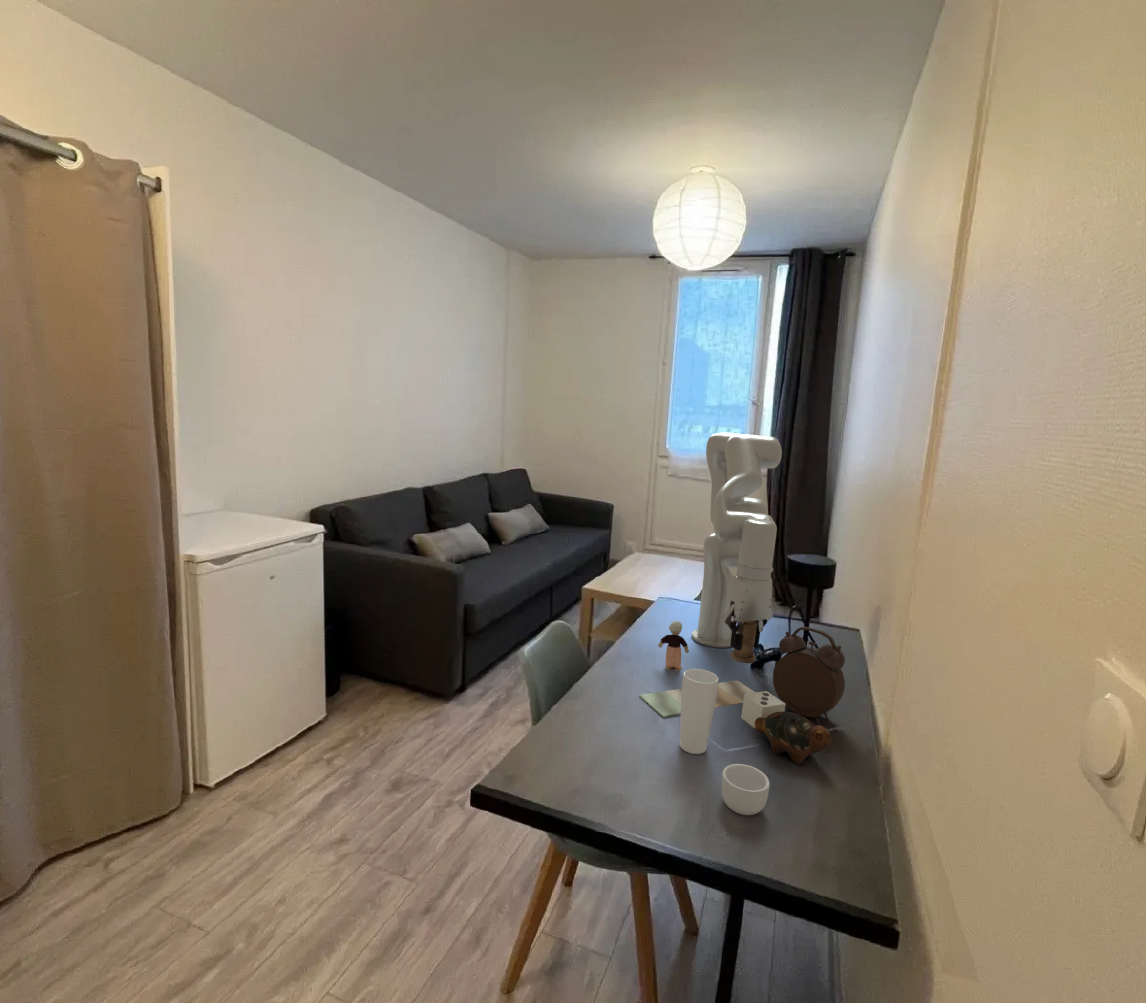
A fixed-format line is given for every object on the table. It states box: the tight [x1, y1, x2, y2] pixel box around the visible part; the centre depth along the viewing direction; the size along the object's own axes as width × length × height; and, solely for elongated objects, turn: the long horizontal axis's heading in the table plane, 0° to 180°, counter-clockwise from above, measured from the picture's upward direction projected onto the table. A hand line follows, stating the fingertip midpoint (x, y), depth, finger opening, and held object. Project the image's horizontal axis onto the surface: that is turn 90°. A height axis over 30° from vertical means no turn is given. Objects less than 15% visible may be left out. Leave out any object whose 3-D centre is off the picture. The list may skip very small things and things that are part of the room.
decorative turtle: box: [754, 711, 832, 765], centre depth 122 cm, size 10×15×8 cm, turn 50°
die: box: [741, 690, 786, 729], centre depth 132 cm, size 6×6×6 cm
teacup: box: [721, 763, 771, 816], centre depth 105 cm, size 10×8×5 cm
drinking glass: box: [678, 668, 719, 755], centre depth 120 cm, size 7×7×15 cm
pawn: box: [730, 620, 757, 664], centre depth 146 cm, size 6×6×12 cm
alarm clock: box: [772, 626, 846, 724], centre depth 138 cm, size 15×7×20 cm, turn 47°
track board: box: [638, 679, 757, 719], centre depth 143 cm, size 28×10×1 cm, turn 115°
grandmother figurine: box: [657, 620, 690, 672], centre depth 157 cm, size 8×4×13 cm, turn 84°
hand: (744, 646), depth 146 cm, fingers closed on pawn, 4 cm apart
